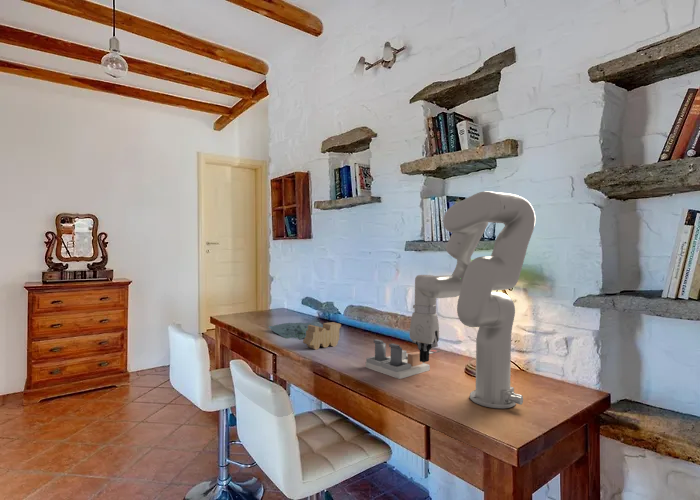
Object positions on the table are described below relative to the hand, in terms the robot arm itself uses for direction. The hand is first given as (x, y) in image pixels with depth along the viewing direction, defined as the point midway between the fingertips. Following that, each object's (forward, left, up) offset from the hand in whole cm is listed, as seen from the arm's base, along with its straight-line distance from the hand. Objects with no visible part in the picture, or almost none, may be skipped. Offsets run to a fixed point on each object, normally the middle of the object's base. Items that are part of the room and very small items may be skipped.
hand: (424, 361), depth 141 cm
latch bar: (+4, 0, -2) cm, 5 cm away
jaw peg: (+6, +9, -2) cm, 10 cm away
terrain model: (+83, -4, -5) cm, 83 cm away
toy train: (+53, +6, -5) cm, 53 cm away
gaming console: (+21, -19, -5) cm, 28 cm away
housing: (+9, +4, -4) cm, 11 cm away
